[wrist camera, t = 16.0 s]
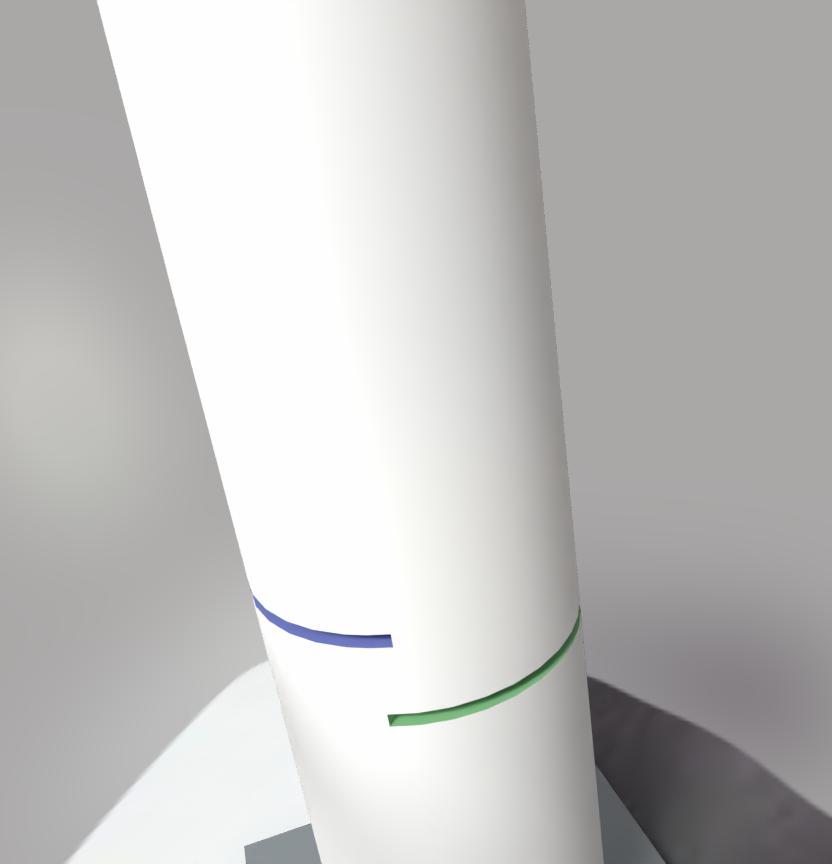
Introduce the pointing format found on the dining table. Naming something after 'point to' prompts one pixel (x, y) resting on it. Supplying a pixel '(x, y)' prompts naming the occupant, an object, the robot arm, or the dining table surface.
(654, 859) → the rubber mat
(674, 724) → the dining table surface
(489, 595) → the cylindrical container
